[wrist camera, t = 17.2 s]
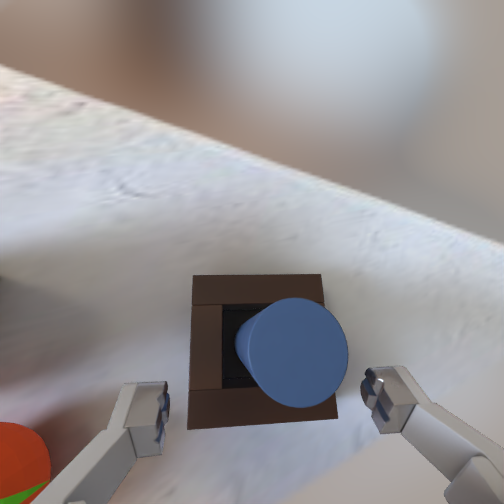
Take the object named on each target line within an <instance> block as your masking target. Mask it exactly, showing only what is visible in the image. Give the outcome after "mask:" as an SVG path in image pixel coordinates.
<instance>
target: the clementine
mask: <svg viewBox="0 0 504 504" xmlns="http://www.w3.org/2000/svg"><path fill="white" fill-rule="evenodd" d="M50 474H51V461H50V456H49V451H48V449H47V447H46V445H45V443H44V441H43V439H42V438H41V437H40V436H39V435H38V434H37V433H35V432H34V431H33V430H31V429H29V428H27V427H24V426H22V425H19V424H15V423H7V422H0V504H30V503H31V502H32V501H33V500H34V499H35V498H36V497H37V496H38V495H39V494H40V493H41V492H42V491H43V490H44V489H45V488H46V487H47V486H48V485H49V483H50Z"/></svg>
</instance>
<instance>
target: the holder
mask: <svg viewBox="0 0 504 504" xmlns="http://www.w3.org/2000/svg"><path fill="white" fill-rule="evenodd" d="M287 298H304V299H308V300H311V301H314V302H316V303H318V304H320V305H321V306H323V307H324V308H325V305H324V303H323V302H324V295H323V287H322V278H321V274H280V275H193V285H192V312H191V339H190V366H189V392H188V418H187V430H193V429H207V428H220V427H234V426H247V425H260V424H274V423H287V422H301V421H314V420H328V419H338V412H337V404H336V396H335V392H334V394H332V395H331V396H330V397H329V398H328V399H326V400H325V401H323V402H322V403H319V404H317V405H314V406H311V407H305V408H295V407H289V406H286V405H283V404H281V403H279V402H277V401H275V400H274V399H272V398H271V397H269V396H268V395H267V394H266V393H265V392H264V391H263V390H262V389H261V387H260V386H259V385H258V384H257V382H256V381H255V379H254V378H253V377H245V378H226V379H223V310H252V309H265V308H267V307H268V306H270V305H271V304H273V303H275V302H277V301H280V300H282V299H287Z"/></svg>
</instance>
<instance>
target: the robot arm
mask: <svg viewBox="0 0 504 504" xmlns="http://www.w3.org/2000/svg"><path fill="white" fill-rule="evenodd" d="M365 376H366V378H365V379H364V380H363V381H362V383H361V386H360V389H361V396H362V399H363V401H364V403H365V405H366V406H367V407H368V408H369V409H371V410H372V416H371V417H372V419H373V421H374V423H375V425H376V427H377V428H378V430H379V432H380V434H389V433H401V435H402V436H403V437H404V438H405V439H406V440H407V441H408V442H409V443H411V444H412V445H413V446H414V447H415V448H416V449H417V450H418V451H419V452H420V453H421V454H422V455H423V456H424V457H425V458H426V459H427V460H429V462H430V463H432V464H433V465H434V466H435V467H436V468H437V469H438V470H439V471H440V472H441V473H442V474H443V475H444V476H445V477H446V478H447V479H448V480H449V481H450V482H451V484H450V485H449V486H448V487H447V488H446V490H445V491H444V497H445V498H446V500H447V502H448V503H449V504H504V448H502V447H501V446H499V445H498V444H496V443H495V442H493V441H492V440H490V439H489V438H487V437H486V436H484V435H483V434H481V433H480V432H478V431H477V430H475V429H474V428H473V427H471V426H470V425H468V424H467V423H465V422H463V421H462V420H461V419H459V418H458V417H456V416H455V415H453V414H452V413H450V412H449V411H447V410H446V409H444V408H443V407H441V406H440V405H438V404H437V403H432V402H431V400H430V399H429V398H428V397H427V395H426V394H425V393H424V391H423V390H422V389H421V387H420V386H419V385H418V383H417V382H416V381H415V379H414V378H413V377H412V375H411V374H410V373H409V371H408V370H407V369H406V368H405V367H403V366H394V367H377V368H368V369H367V370H366V372H365ZM167 390H168V384H167V381H162V382H137V383H125V384H124V385H123V387H122V389H121V391H120V394H119V397H118V400H117V402H116V405H115V408H114V410H113V413H112V416H111V418H110V421H109V424H108V426H107V429H106V430H101V432H100V433H99V434H98V435H97V436H96V437H95V438H94V439H93V440H92V441H91V442H90V443H89V444H88V445H87V446H86V447H85V448H84V449H83V450H82V451H81V452H80V453H79V454H78V455H77V456H76V457H75V458H74V459H73V460H72V461H71V462H70V463H69V464H68V465H67V466H66V467H65V468H64V469H63V470H62V471H61V472H60V473H59V475H58V476H57V477H56V478H55V479H54V480H53V481H52V482H51V483H50V484H49V485H48V486H47V487H46V488H45V489H44V490H43V491H42V492H41V493H40V494H39V495H38V496H37V497H36V498H35V499H34V500H33V501H32V502H31V503H30V504H107V502H108V501H109V499H110V498H111V496H112V495H113V494H114V492H115V491H116V489H117V488H118V486H119V485H120V483H121V482H122V481H123V479H124V478H125V476H126V475H127V473H128V472H129V470H130V469H131V468H132V466H133V465H134V463H135V462H136V460H137V458H141V457H149V456H157V455H162V451H163V445H164V440H165V428H164V426H165V424H166V423H167V422H168V417H169V408H170V397H169V394H168V393H167Z"/></svg>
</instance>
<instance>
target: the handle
mask: <svg viewBox="0 0 504 504" xmlns="http://www.w3.org/2000/svg"><path fill="white" fill-rule="evenodd" d="M234 347H235V351H236V354H237V356H238V357H239V359H240V360H241V361H242V363H243V364H244V365H245V367H246V368H247V370H248V371H249V372H250V374H251V375H252V377H253V378H254V379H255V381H256V382H257V384H258V385H259V386H260V387H261V389H262V390H263V391H264V392H265V393H266V394H267V395H268V396H269V397H271V398H272V399H274V400H275V401H277V402H279V403H281V404H283V405H286V406H289V407H295V408H305V407H311V406H314V405H317V404H319V403H322V402H323V401H325V400H326V399H328V398H329V397H330V396H331V395H332V394H334V392H335V391H336V390H337V389H338V387H339V386H340V384H341V383H342V381H343V378H344V376H345V373H346V370H347V364H348V346H347V341H346V338H345V335H344V332H343V330H342V328H341V326H340V324H339V323H338V321H337V320H336V318H335V317H334V316H333V315H332V314H331V313H330V312H329V311H328V310H327V309H326V308H324V307H323V306H321V305H320V304H318V303H316V302H314V301H311V300H308V299H304V298H287V299H282V300H280V301H277V302H275V303H273V304H271V305H270V306H268V307H267V308H265V309H264V310H262V311H261V312H259V313H258V314H256V315H255V316H253V317H252V318H250V319H249V320H247V321H246V322H244V323H243V324H242V325H241V326H240V327H239V328H238V330H237V332H236V334H235V338H234Z"/></svg>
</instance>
